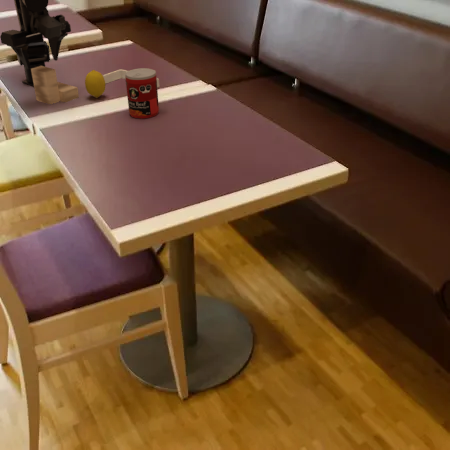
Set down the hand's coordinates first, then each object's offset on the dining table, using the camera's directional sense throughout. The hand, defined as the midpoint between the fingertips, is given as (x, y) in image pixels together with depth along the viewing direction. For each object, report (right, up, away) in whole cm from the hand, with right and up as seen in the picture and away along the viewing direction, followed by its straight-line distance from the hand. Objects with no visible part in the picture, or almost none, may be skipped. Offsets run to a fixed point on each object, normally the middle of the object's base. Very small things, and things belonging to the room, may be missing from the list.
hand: (42, 64), depth 166 cm
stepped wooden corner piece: (+2, -8, +7) cm, 11 cm away
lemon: (+14, -8, +7) cm, 17 cm away
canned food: (+28, -14, -4) cm, 32 cm away
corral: (+20, -3, +14) cm, 25 cm away
